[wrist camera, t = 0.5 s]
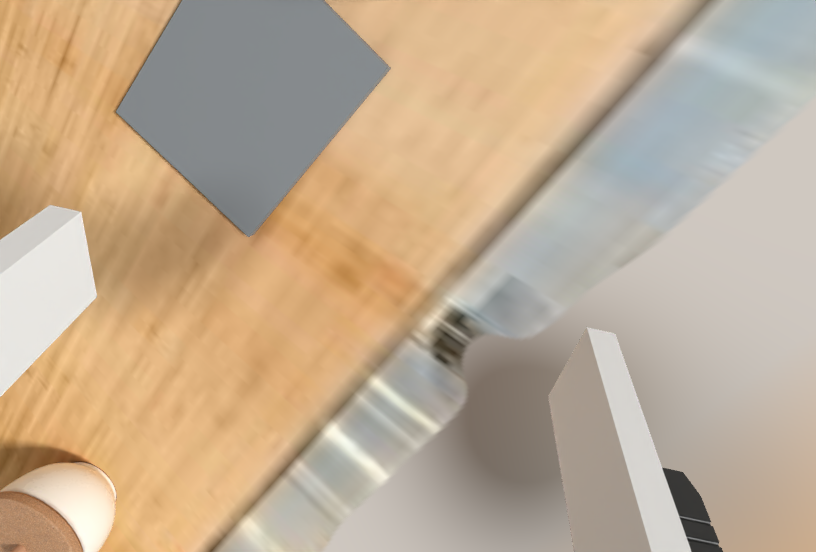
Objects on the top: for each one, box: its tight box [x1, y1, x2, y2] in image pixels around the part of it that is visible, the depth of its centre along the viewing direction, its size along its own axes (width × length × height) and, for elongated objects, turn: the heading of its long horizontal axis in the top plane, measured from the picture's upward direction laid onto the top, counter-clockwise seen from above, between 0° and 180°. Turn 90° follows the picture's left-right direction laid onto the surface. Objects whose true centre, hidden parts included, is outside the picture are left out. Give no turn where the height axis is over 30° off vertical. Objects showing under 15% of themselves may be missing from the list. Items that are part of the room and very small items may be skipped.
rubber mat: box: [116, 0, 391, 237], centre depth 35 cm, size 16×13×1 cm
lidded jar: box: [0, 462, 117, 552], centre depth 49 cm, size 11×11×9 cm
